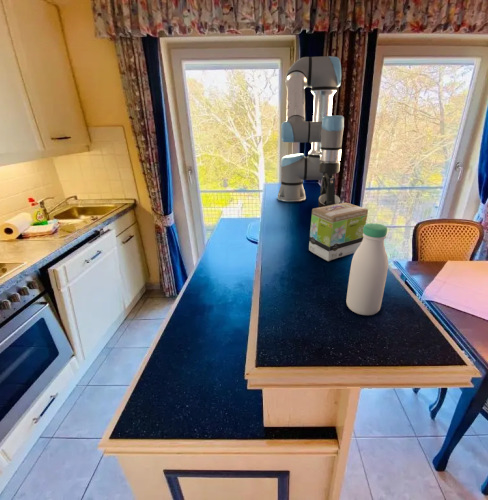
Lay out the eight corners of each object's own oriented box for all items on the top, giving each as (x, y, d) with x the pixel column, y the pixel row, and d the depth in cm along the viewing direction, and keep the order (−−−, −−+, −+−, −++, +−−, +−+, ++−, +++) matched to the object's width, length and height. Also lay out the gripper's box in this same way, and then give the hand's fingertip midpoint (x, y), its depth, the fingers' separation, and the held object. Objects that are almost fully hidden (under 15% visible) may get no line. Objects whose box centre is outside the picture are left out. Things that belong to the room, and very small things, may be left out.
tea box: (329, 262, 85) (333, 216, 79) (308, 251, 93) (310, 208, 87) (362, 251, 93) (369, 208, 86) (340, 241, 100) (345, 200, 94)
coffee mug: (330, 211, 123) (333, 191, 116) (340, 222, 117) (344, 202, 110) (306, 217, 120) (308, 197, 113) (315, 229, 114) (318, 209, 107)
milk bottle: (382, 318, 62) (400, 234, 53) (347, 314, 63) (358, 232, 54) (377, 298, 69) (391, 220, 60) (344, 295, 70) (354, 219, 61)
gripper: (315, 157, 115) (312, 207, 124) (324, 166, 93) (320, 227, 102) (334, 157, 115) (329, 207, 124) (347, 166, 92) (340, 227, 101)
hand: (325, 216), depth 113 cm, fingers open, 13 cm apart
